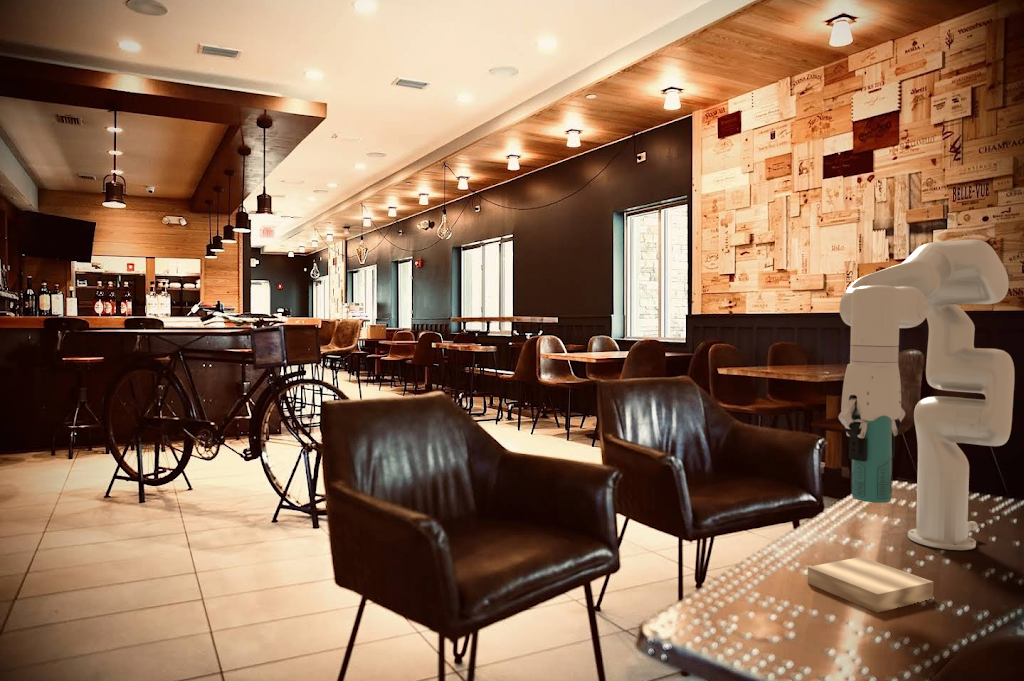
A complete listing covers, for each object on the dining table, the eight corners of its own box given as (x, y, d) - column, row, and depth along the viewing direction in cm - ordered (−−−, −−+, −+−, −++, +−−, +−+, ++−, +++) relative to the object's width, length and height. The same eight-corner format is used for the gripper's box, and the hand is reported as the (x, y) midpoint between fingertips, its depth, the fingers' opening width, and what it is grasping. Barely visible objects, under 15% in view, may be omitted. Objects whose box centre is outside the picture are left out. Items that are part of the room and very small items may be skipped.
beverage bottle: (897, 512, 119) (900, 395, 118) (855, 510, 120) (857, 394, 119) (885, 503, 125) (887, 392, 125) (845, 501, 126) (847, 391, 126)
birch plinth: (860, 572, 132) (861, 556, 132) (932, 599, 119) (933, 581, 119) (807, 583, 126) (808, 566, 126) (877, 612, 113) (877, 594, 113)
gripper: (887, 355, 129) (885, 451, 129) (820, 355, 122) (818, 458, 122) (926, 357, 122) (924, 459, 123) (858, 357, 115) (856, 466, 115)
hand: (871, 457), depth 122 cm, fingers closed on beverage bottle, 6 cm apart
